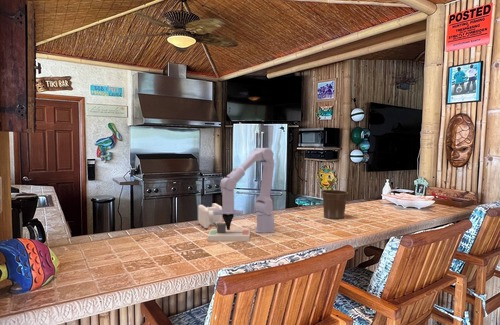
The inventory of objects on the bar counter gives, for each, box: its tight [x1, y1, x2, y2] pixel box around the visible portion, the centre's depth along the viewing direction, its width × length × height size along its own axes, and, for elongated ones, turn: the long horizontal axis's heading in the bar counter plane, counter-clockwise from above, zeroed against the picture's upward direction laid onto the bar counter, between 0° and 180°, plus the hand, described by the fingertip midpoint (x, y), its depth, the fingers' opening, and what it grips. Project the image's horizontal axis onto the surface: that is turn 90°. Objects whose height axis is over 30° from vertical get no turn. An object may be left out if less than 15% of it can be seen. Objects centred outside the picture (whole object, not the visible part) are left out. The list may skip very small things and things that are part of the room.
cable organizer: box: [197, 202, 223, 229], centre depth 178 cm, size 15×11×12 cm
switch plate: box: [207, 228, 251, 242], centre depth 156 cm, size 20×12×2 cm, turn 89°
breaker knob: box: [216, 222, 227, 233], centre depth 156 cm, size 4×3×4 cm
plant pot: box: [321, 189, 349, 220], centre depth 197 cm, size 16×16×16 cm
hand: (228, 229), depth 156 cm, fingers closed
